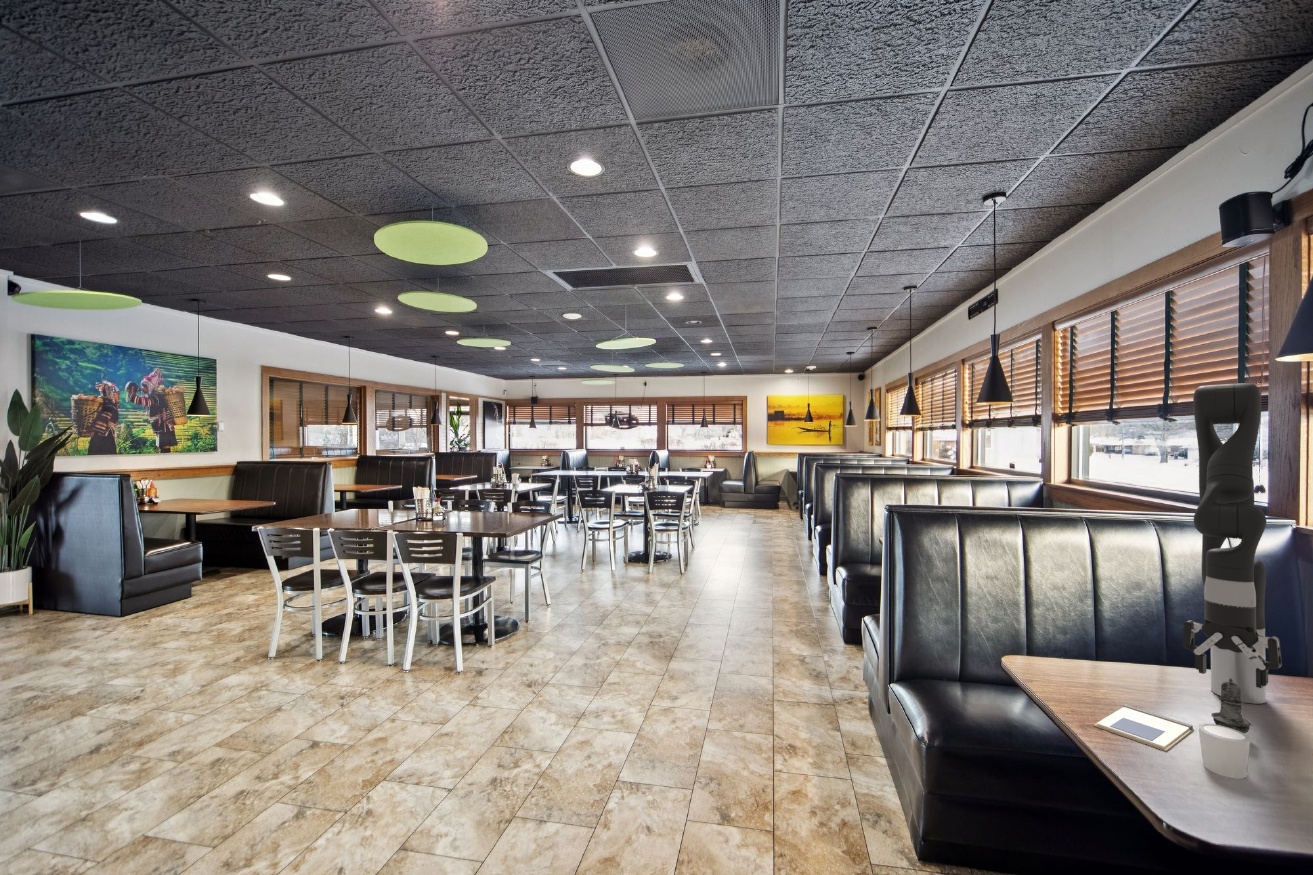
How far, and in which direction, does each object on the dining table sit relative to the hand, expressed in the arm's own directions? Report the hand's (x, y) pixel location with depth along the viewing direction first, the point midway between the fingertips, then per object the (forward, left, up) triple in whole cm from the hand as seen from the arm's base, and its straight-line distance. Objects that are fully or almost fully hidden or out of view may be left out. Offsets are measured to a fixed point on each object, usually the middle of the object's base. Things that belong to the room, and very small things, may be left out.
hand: (1230, 679), depth 118 cm
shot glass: (+18, +3, -12) cm, 22 cm away
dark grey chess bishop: (0, 0, -12) cm, 12 cm away
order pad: (+11, -11, -12) cm, 19 cm away
